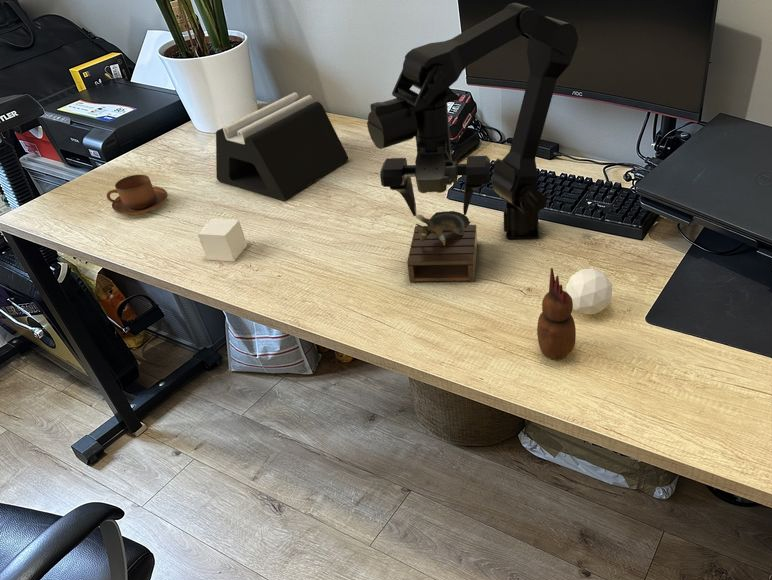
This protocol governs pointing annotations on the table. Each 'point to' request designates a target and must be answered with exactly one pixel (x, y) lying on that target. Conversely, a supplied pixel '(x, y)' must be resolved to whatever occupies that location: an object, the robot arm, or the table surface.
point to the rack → (443, 256)
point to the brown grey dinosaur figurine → (442, 224)
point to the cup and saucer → (136, 195)
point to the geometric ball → (589, 291)
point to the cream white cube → (222, 239)
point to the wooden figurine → (556, 322)
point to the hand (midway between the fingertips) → (440, 214)
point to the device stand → (278, 148)
